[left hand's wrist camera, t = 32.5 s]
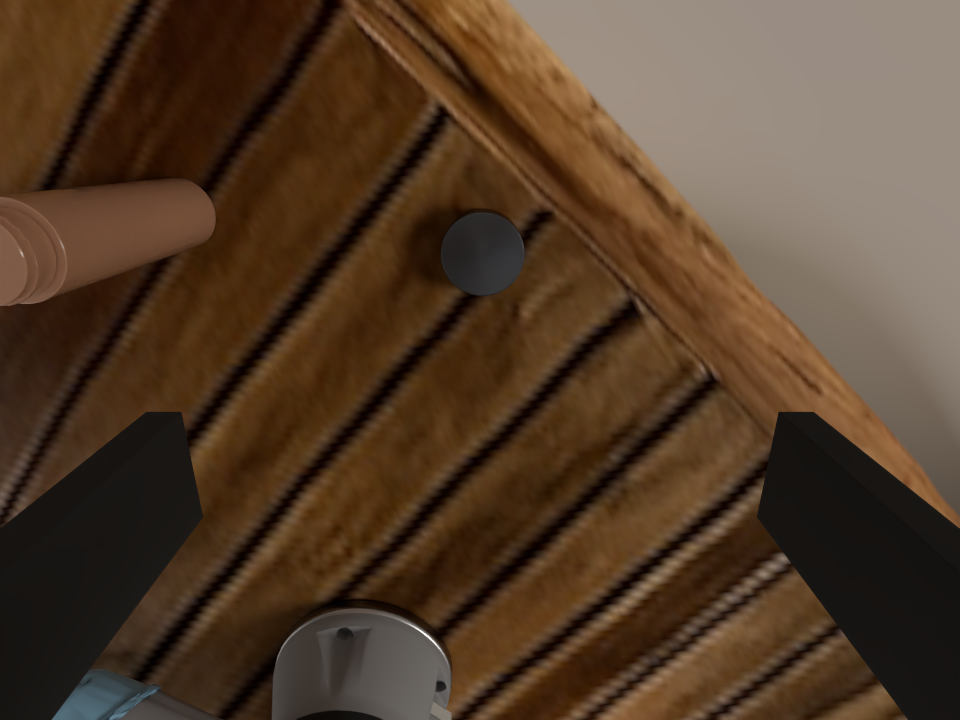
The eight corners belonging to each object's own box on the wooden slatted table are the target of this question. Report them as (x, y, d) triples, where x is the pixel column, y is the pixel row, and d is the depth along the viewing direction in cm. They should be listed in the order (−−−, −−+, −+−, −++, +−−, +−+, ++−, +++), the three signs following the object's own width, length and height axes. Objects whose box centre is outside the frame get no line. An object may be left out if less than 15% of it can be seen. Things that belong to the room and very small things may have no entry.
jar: (186, 164, 36) (-27, 177, 21) (230, 227, 37) (60, 282, 22) (131, 199, 36) (-112, 237, 21) (176, 259, 38) (-23, 334, 23)
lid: (512, 199, 36) (514, 202, 34) (529, 278, 38) (532, 285, 36) (433, 219, 37) (431, 223, 35) (453, 296, 39) (452, 304, 37)
